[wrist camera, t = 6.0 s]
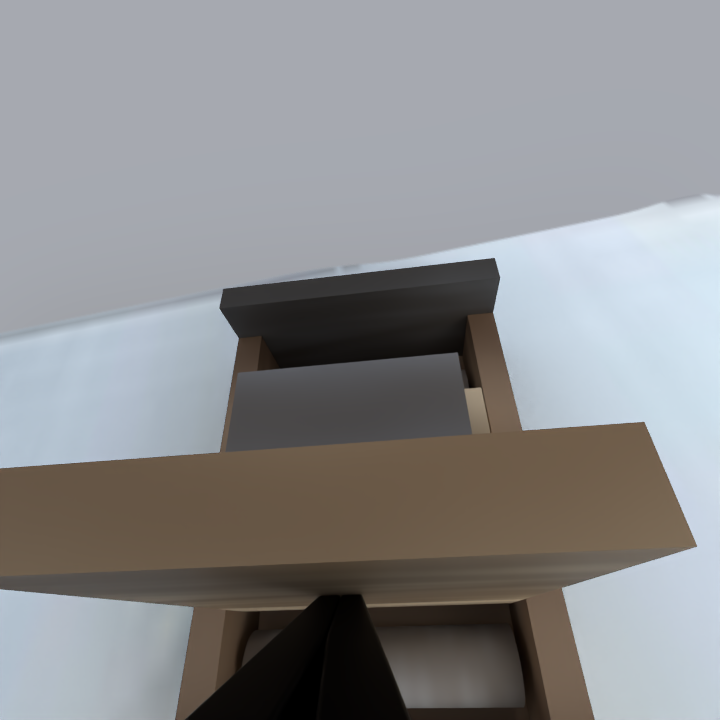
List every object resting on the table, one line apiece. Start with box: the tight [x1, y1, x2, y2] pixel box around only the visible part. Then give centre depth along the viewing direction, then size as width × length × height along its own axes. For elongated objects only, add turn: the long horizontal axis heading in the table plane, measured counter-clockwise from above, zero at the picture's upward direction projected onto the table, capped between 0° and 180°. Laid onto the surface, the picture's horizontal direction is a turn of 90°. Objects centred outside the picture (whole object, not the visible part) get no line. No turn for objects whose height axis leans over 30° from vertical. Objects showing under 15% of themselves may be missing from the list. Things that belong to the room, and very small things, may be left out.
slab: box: [0, 352, 697, 611], centre depth 10 cm, size 6×8×10 cm
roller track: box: [175, 258, 594, 720], centre depth 14 cm, size 17×11×6 cm, turn 1°
